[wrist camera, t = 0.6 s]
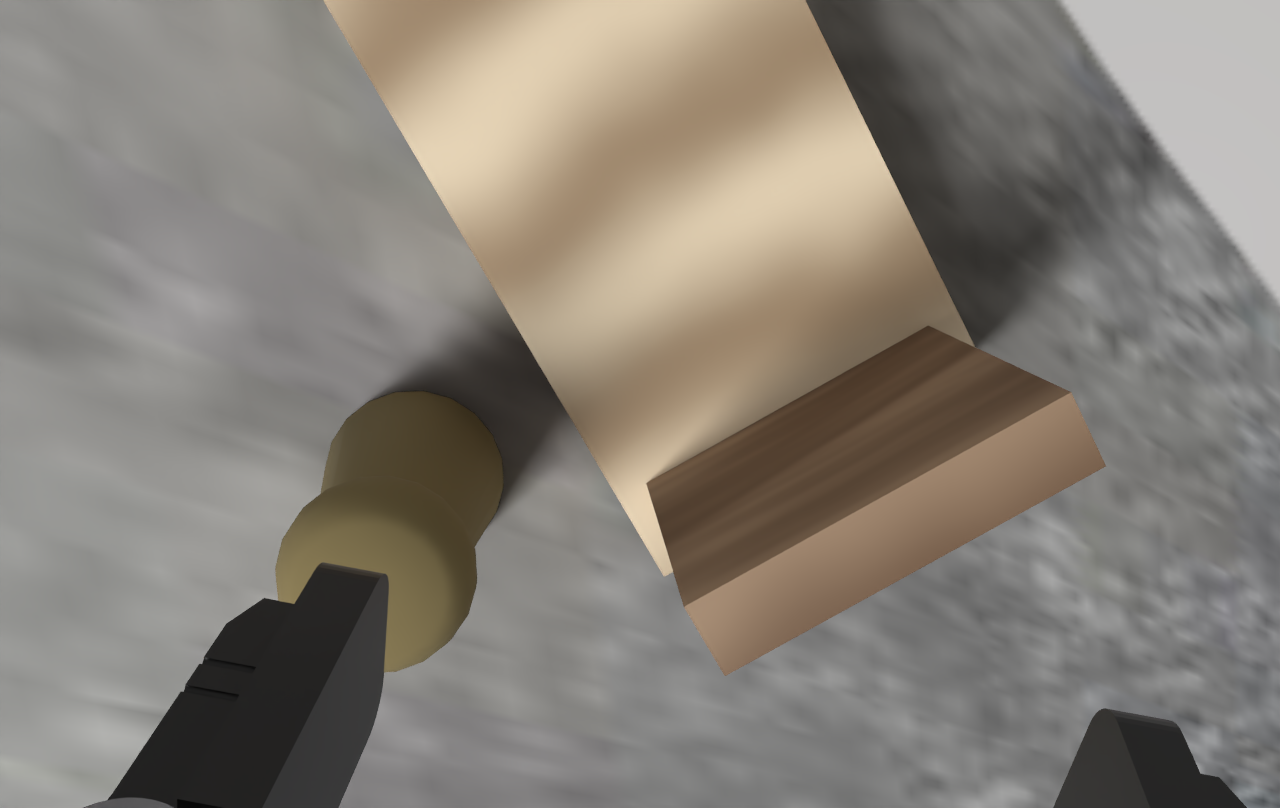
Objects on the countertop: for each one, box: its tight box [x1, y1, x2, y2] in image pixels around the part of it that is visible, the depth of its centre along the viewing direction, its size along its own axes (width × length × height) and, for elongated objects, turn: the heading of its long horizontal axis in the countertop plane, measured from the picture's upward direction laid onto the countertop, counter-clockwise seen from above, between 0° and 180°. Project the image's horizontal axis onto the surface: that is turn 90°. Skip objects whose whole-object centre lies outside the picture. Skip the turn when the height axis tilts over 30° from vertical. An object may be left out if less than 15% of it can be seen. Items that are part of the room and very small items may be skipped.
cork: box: [275, 391, 504, 672], centre depth 34 cm, size 6×6×11 cm
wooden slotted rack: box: [324, 0, 1106, 676], centre depth 31 cm, size 24×12×14 cm, turn 29°
